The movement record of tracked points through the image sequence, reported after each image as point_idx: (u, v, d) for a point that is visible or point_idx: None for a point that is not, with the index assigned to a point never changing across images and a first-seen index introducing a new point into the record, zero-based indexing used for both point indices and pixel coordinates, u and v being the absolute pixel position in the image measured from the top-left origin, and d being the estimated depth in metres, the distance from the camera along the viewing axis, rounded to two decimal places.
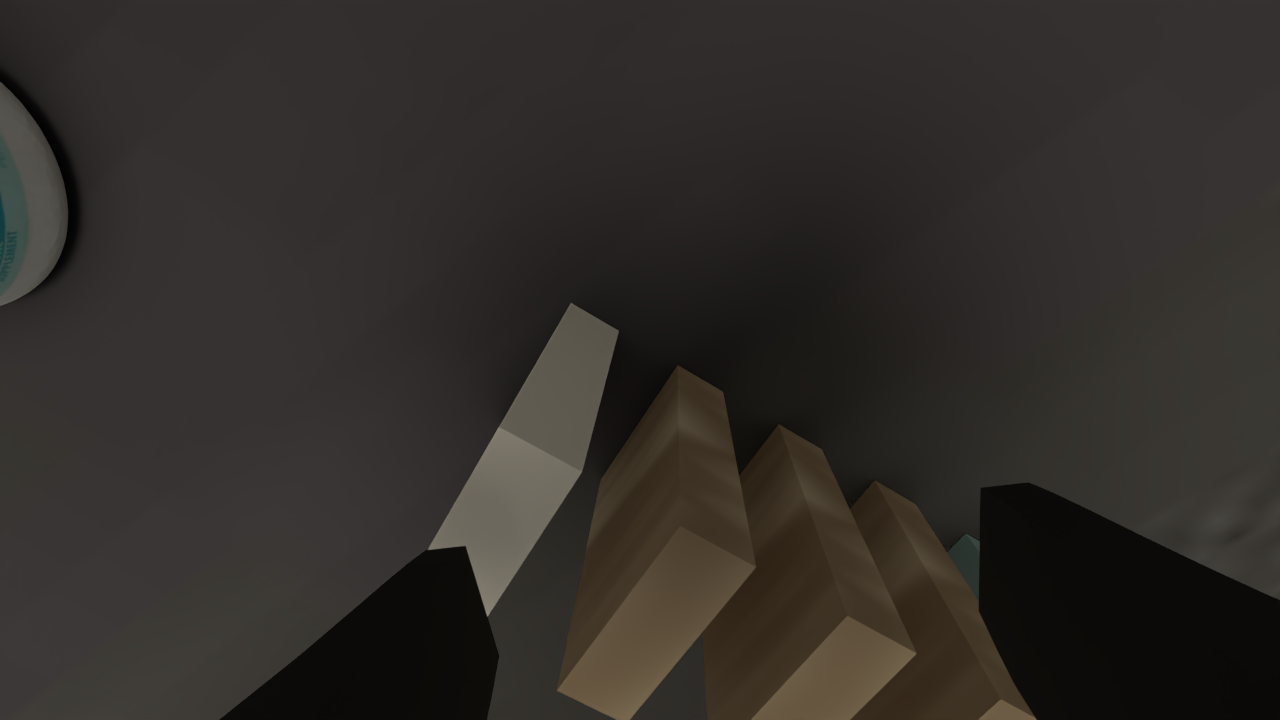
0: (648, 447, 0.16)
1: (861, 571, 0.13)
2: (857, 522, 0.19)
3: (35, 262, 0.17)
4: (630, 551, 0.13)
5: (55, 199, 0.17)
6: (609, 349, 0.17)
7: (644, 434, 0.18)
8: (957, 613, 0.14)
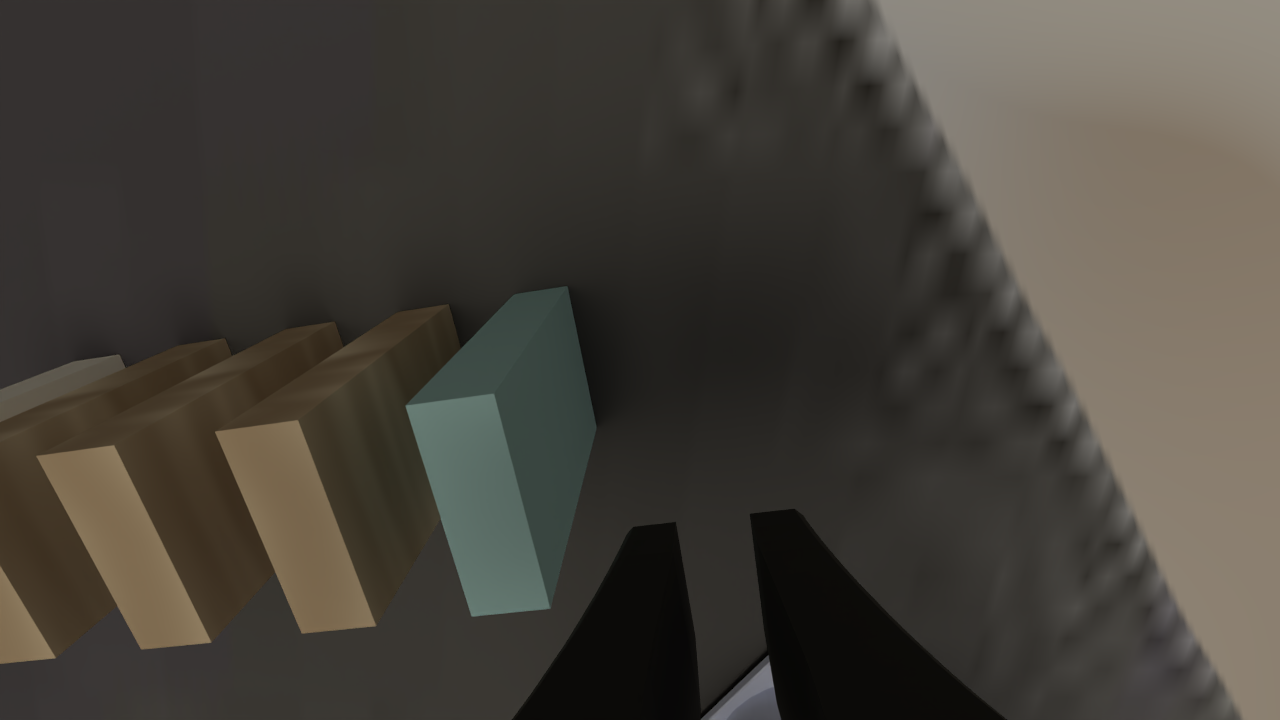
0: None
1: (162, 406, 0.13)
2: None
3: None
4: None
5: None
6: (63, 376, 0.18)
7: None
8: (302, 379, 0.14)
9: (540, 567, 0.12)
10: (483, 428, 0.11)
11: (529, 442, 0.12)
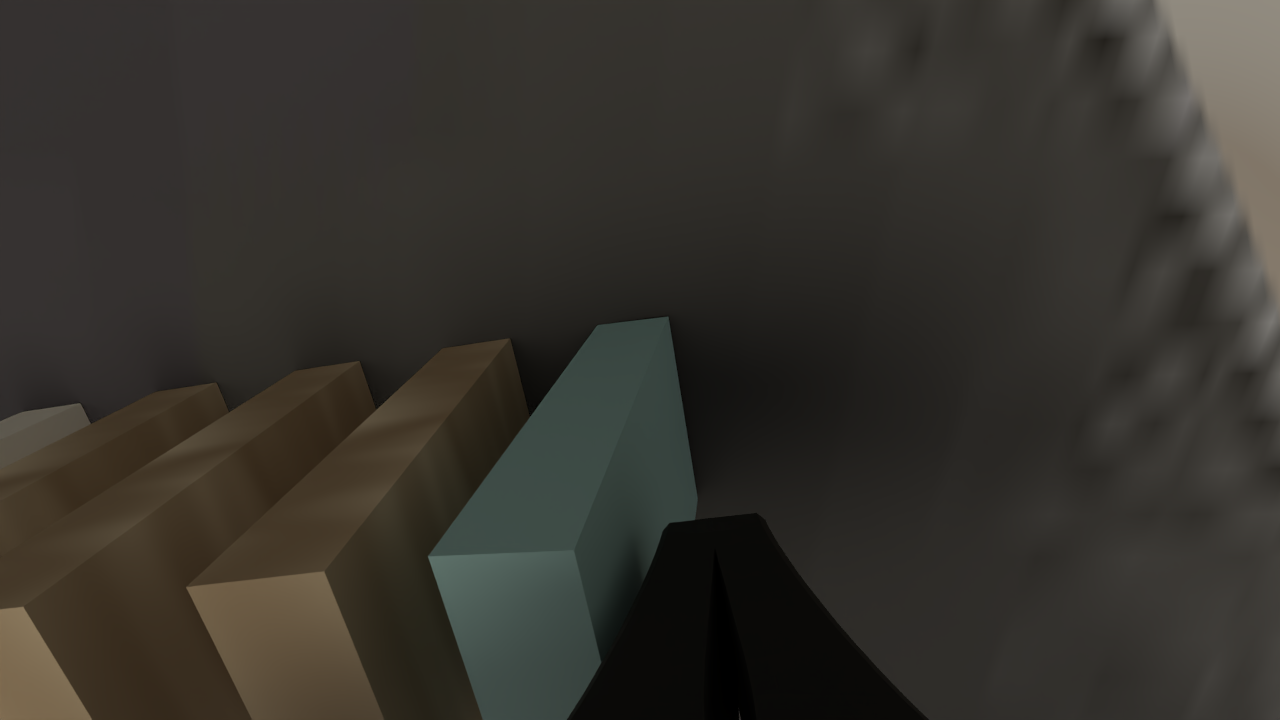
0: None
1: (114, 515, 0.09)
2: None
3: None
4: None
5: None
6: (0, 438, 0.14)
7: None
8: (324, 470, 0.09)
9: None
10: (554, 602, 0.06)
11: (623, 593, 0.08)
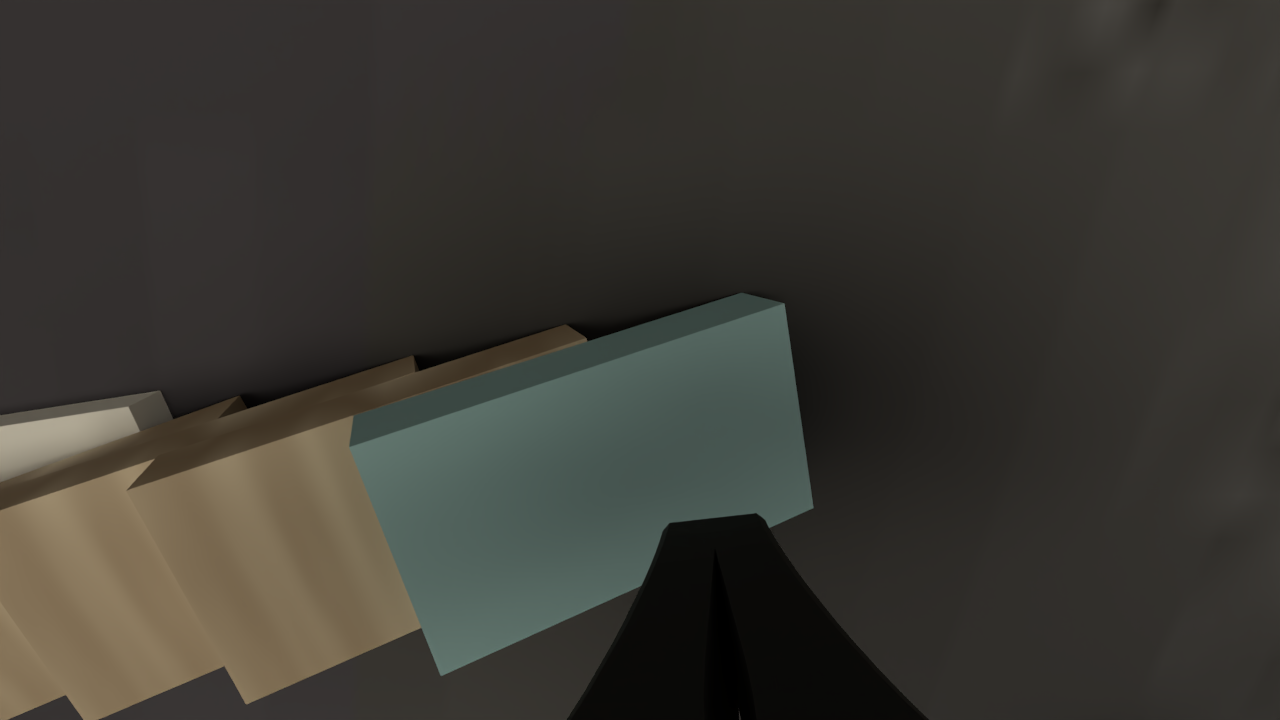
0: None
1: (89, 471, 0.12)
2: None
3: None
4: None
5: None
6: (60, 415, 0.14)
7: None
8: (296, 414, 0.12)
9: (427, 633, 0.11)
10: (363, 473, 0.10)
11: (455, 504, 0.11)
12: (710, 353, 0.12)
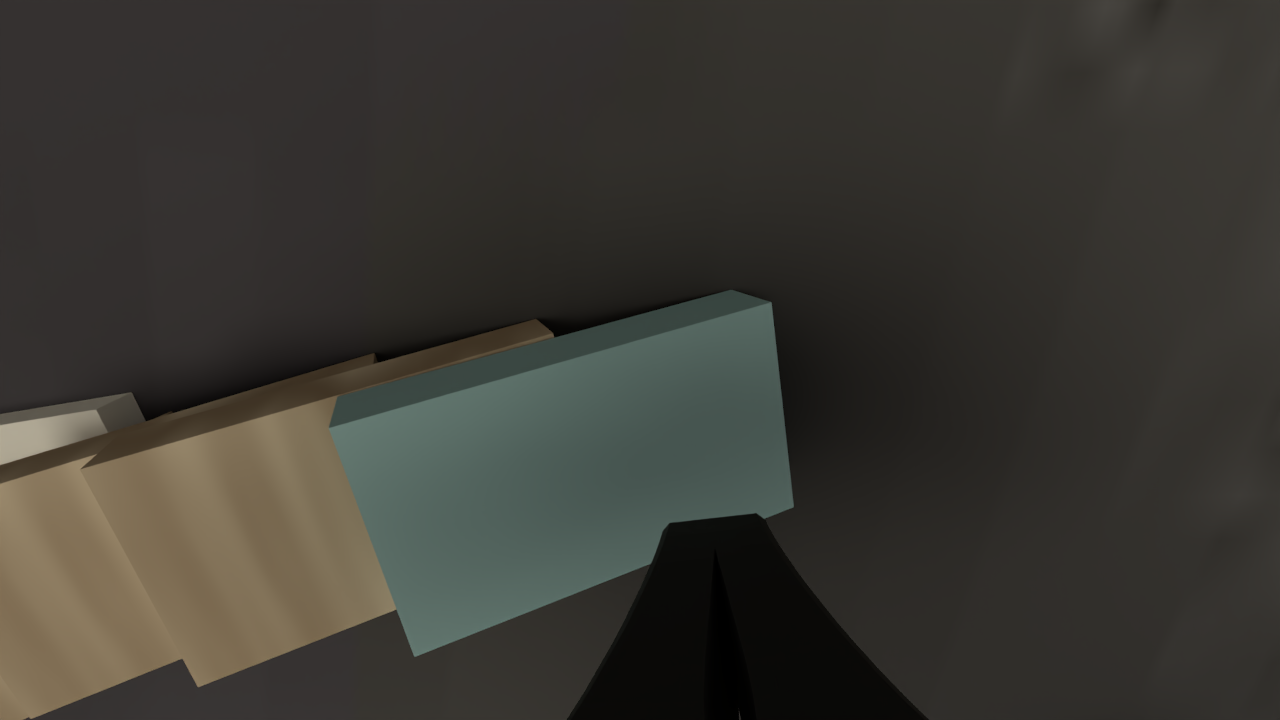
0: None
1: (38, 464, 0.12)
2: None
3: None
4: None
5: None
6: (30, 418, 0.14)
7: None
8: (259, 399, 0.12)
9: (402, 614, 0.11)
10: None
11: (433, 488, 0.11)
12: (694, 349, 0.12)
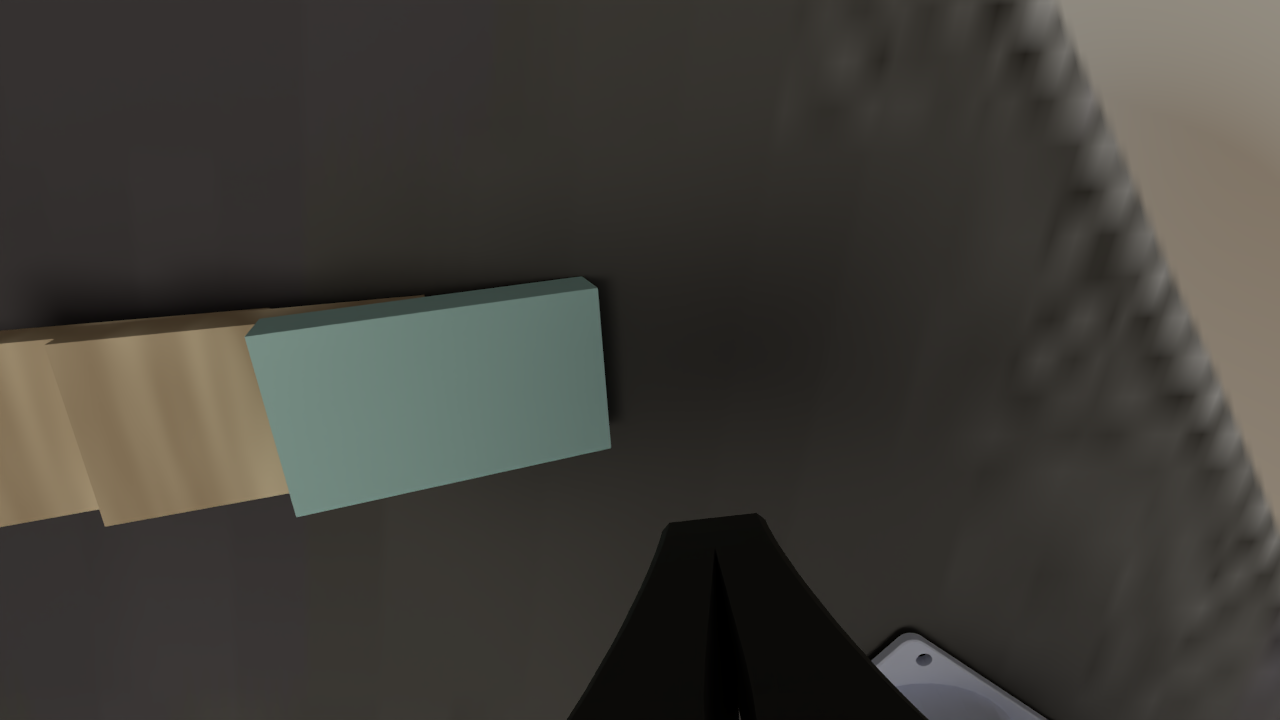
0: None
1: None
2: None
3: None
4: None
5: None
6: None
7: None
8: (191, 318, 0.16)
9: (289, 483, 0.15)
10: None
11: (320, 392, 0.15)
12: (533, 315, 0.16)
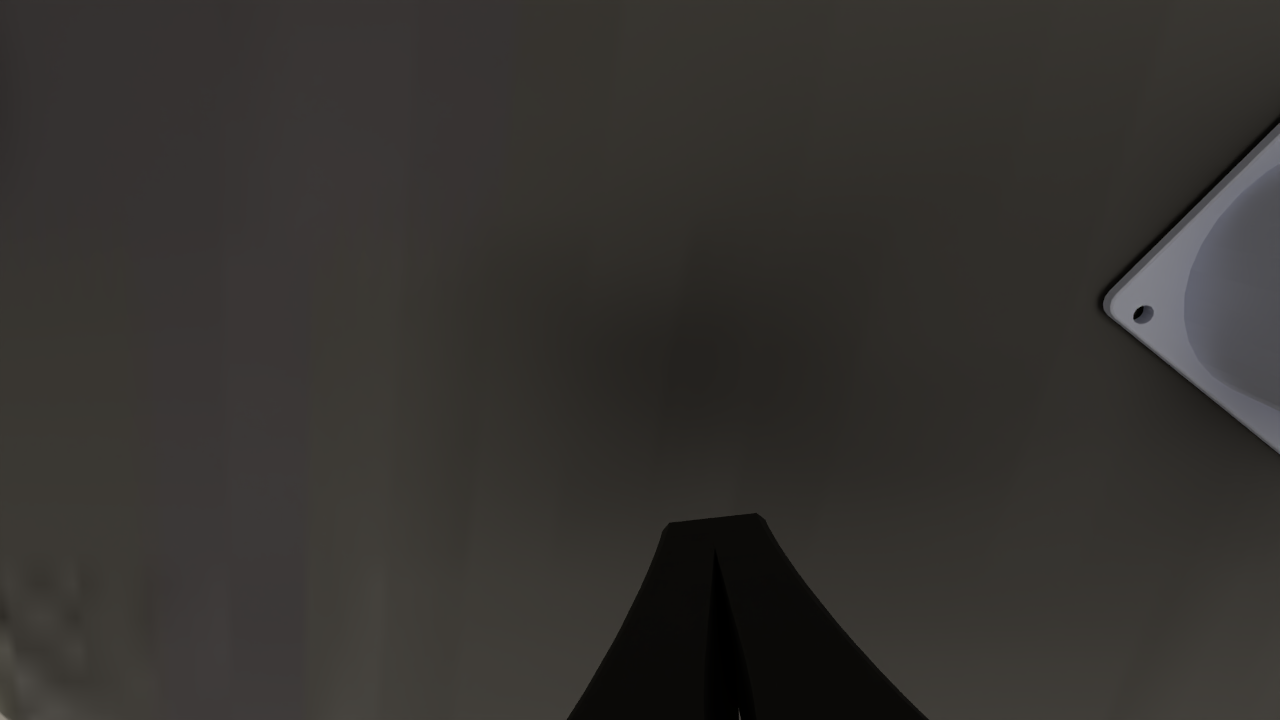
0: None
1: None
2: None
3: None
4: None
5: None
6: None
7: None
8: None
9: None
10: None
11: None
12: None
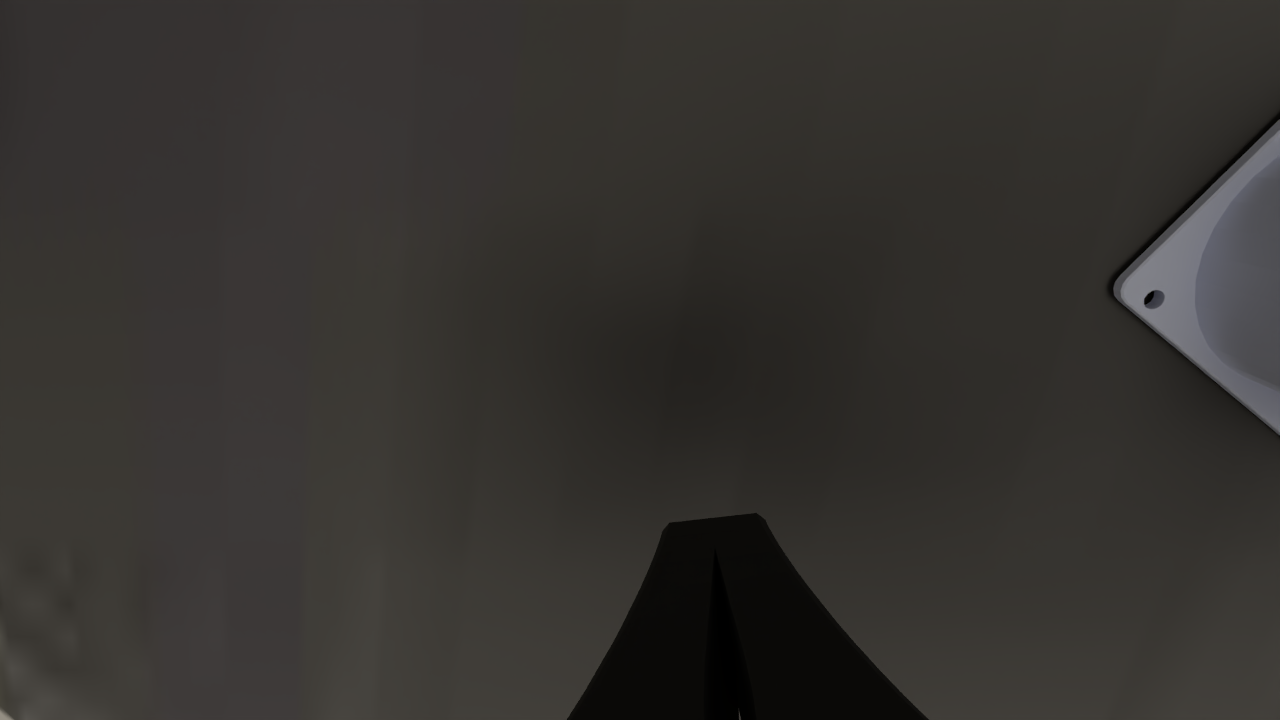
0: None
1: None
2: None
3: None
4: None
5: None
6: None
7: None
8: None
9: None
10: None
11: None
12: None
